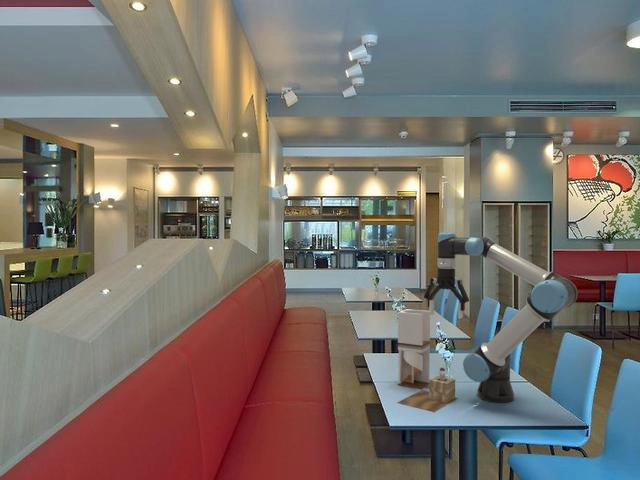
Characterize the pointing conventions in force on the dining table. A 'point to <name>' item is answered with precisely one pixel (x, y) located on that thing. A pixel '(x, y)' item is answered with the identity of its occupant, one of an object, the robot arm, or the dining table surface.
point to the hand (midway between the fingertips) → (445, 316)
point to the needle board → (425, 399)
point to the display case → (414, 348)
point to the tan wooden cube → (442, 389)
